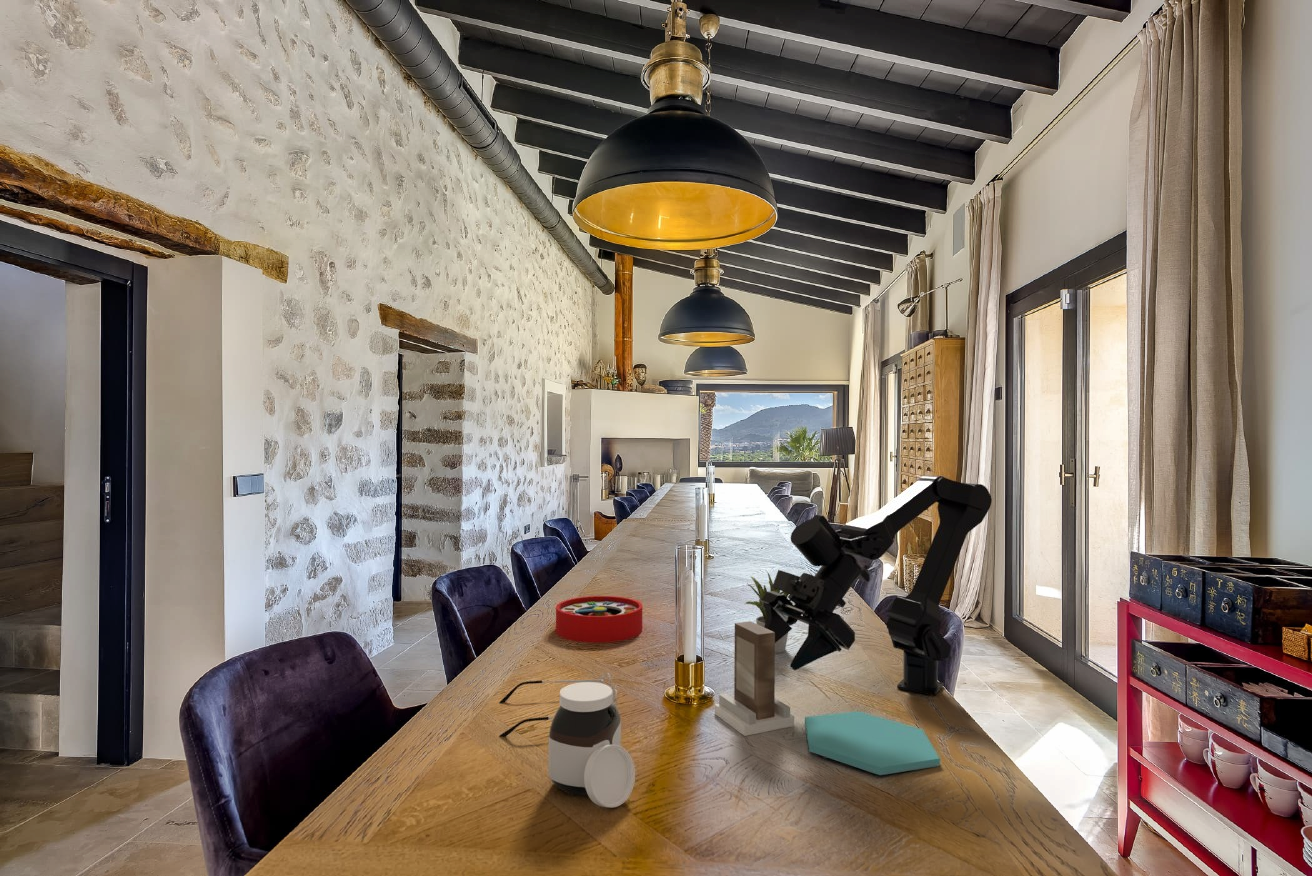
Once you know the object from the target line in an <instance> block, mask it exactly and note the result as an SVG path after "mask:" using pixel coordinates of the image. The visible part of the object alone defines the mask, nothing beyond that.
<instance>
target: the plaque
mask: <svg viewBox="0 0 1312 876" xmlns="http://www.w3.org/2000/svg"><path fill="white" fill-rule="evenodd" d="M804 727H805V733H806V738H807V739H806V740H807V746H808V751H809V752H810V753H813V754H816V755H818V756H822V758H823V759H827V758H828V759H830V760H834V761H836V762H840V763H842V764H845V765H848V766H852V767H855V768H856V769H857V768H858V769H861V770H863V771H866V772H869V773H872V774H875V775H878V776H885V775H889V774H898V773H902V772H908V771H916V770H922V769H923V770H924V769H928V768H935V767H939V766H941V758H940V756H939V755H938V752H937V751H936V749H935V748H934V746H933V745H932V743H931V741H930V739H929V738H928V736H927V735H926V733H925V731H924V729H923V728H921V727H919V728H918V727H915V726H911V725H908V724H906V723H902V722H898V721H895V720H891V719H888V718H884V717H880V716H877V715H874V714H870V713H868V712H863V711H859V710H856V711H854V710H853V711H846V712H837V713H830V714H829V713H828V714H819V715H812V716H804Z"/></svg>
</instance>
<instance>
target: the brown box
mask: <svg viewBox="0 0 1312 876" xmlns="http://www.w3.org/2000/svg"><path fill="white" fill-rule="evenodd" d="M733 657H734V658H733V659H734V661H733V662H734V665H733V666H734V667H733V669H734V673H733V674H734V675H733V676H734V677H733V678H734V680H733V681H734V683H733V684H734V685H733V693H734V694H733V695H734V698H733V699H735V700H736V701H738V702H739V703H741V704H742V705H744V706H745V707H747V708H748V709H750V710H751V711H753V712H754V713H756V719H757V720H761V719H766V718H771V717H774V710H775V687H776V686H775V682H776V681H775V680H776V678H775V677H776V676H775V672H776V670H775V669H776V667H775V663H776V662H775V660H776V659H775V658H776V653H775V632H773V631H771V630H769V629H766V628H764V627H762V626H760V625H758V624H757V623H755V622H753V621H750V620H749V621H742V622H741V621H740V622H734V656H733Z"/></svg>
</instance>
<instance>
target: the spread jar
mask: <svg viewBox="0 0 1312 876" xmlns="http://www.w3.org/2000/svg"><path fill="white" fill-rule="evenodd" d="M612 697H613V688H612V689H611V688H610V685H607V684H606V683H604V684H603V683H601V682H573V683H572V684H568V685H566V686H563V687H562V688H561V689H560V691H559V707H558V708H557V711H556V712H555V714H554V715H553V717H552V718H553V719H552V722H551V725H550V728H549V734H548V762H547V763H548V774H549V779H550V781H551V782H552V783H553V785H554V786H556V787H558V788H559V789H560V790H562V791H564V792H565V793H568V794H570V795H574V796H575V795H576V796H588V798H589V799H590V800H591V802H593V803H594V804H596V806H599V807H602V808H611V809H612V808H617V807H620V806H622V804H624V803H625V802H626V801H628V799H629V797H630V796H631V794H632V791H633V789H634V785H635V780H636V769H635V768H636V767H635V764H634V761H633V758H632V756H631V754H630V753H629V752H628V750H627V749H625V748H624V747H623V746H622V720H621V714H620V711H619V709H618V707H617V708H616V706H615V704H613V703H612Z"/></svg>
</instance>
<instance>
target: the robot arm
mask: <svg viewBox="0 0 1312 876" xmlns="http://www.w3.org/2000/svg"><path fill="white" fill-rule="evenodd" d="M992 499H993V498H992V496H991V493H990V492H989V489H988V488H987V487H986V486H985V485H984V484H981V483H971V482H970V483H968V482H967V483H966V482H960V481H956V480H952V479H951V478H947V477H946V476H945V477H944V476H943V475H942V476H941V475H929V474H926V475H925V474H924V475H922V476H920V477H918V478H917V480H916V482H915V483H913V484H912V485H911V486H909V487H908V488H907V489H905V490H903V492H901V493H900V494H899V495H898V496H896V497H895V498H893V499H892V500H890V502H888V503H886V505H884V506H882V507H881V508H880V509H879V510H877V511H875V512H873V513H871V514H867V515H864V516H863V515H862V516H860V517H857V518H855V519H853V520H850V521H849V522H847V523H845V524H843V526H842V527H841V528H840V529H836V530H835V529H834V527H833V526H832V525H831V524H830V523H829V520H828V519H827V518H826V517H825V516H824V515H822V514H814V515H813V517H812V518H810V519H808V520H805V521H803V522H802V523H801V524H799V525H796V527H794V529H793V530H792V533H791V534H790V541H791V543H792V544H793V546H794V547H795V548H796V549H797V550H798V551H799V553H801V554H802V556H803V557H804V558H805V559H806V560H807V561H808V562H809V563H810V565H812V566H813V567H819V568H818V570H817V572H816V573H815V574H814V575H813V574H810V573H806V572H802V574H801V575H800V576H799V575H796V574H793V573H790V572H787V571H783V570H780V569H778V570H777V573H776V575H775V578H774V580H773V586H772V588H773V589H776V590H778V589H779V590H780V592H785V593H788V594H789V595H788V597H786V596H785V595H783V594H784V593H783V594H780V593H777V592H775V591H769V590H767V592H766V594H765V595H764V596H763V598H762V599H761V602H762V603H763V608H764V609H765V612H766V622H765V626H764V628H766V629H769V630H771V631H773V632H775V643H776V642H777V641H778V640H780V639H781V638H782V637H783V636H784V635H786V634H787V633H788V634H789V632H790V631H792V630H793V628H792V627H791V626H792V625H795V624H796V623H797V622H798V621H799V622H802V623H804V624H806V625H807V626H808V627H807V628H808V629H807V636H806V637H805V640H804V641H803V643H802V644H801V646H800V648H799V649H798V650H797V652H796V654H795V655H794V657H793V659H792V660H791V663H790V665H789V666H790V669H792V670H793V671H797V670H799V669H801V668H803V667H804V666H807V665H808V664H810V663H813V662H815V661H816V660H818V659H820V658H823V657H826V656H827V655H830V654H833V653H834V652H841V651H842V648H843V649H845V650H847V651H849V650H850V648H851V647H852V646H853V645H854V643H855V641H856V632H855V631H854V630H853V629H852V627H851V626H850V625H849V624H848V623H847V622H846V621H845V619H843V617H842V616H841V615H840V614H838V613H836V612H834V611H835V610H836V608H837V607H838V608H843V609H844V607H845V605H846V604H847V602H846V601H845V600H844V597H846V594H848V591H849V590H850V589H851V587H852V586H853V585H854V583H855V582H856V581H857V580H859V581H863V582H865V583H866V582H867V583H868V582H870V580H871V579H870V573H869V570H868V569H869V567H868V565H867V564H864V563H860V562H859V561H858V560H857V558H856V557H858V558H861V559H866V560H871V561H876V560H878V559H880V558H882V557H883V556H884V555H885V553H886V552H888V550H890V548H891V547H892V546H893V545H894V542H895V539H896V535H897V534H898V533H899V532H900V530H902V529H904V528H905V527H906V526H907V525H908V524H910V523H911V522H913V521H914V520H915V519H916V518H918V517H919V516H920V515H921V514H923V513H924V512H926V511H927V510H928V509H929V508H931V506H933V505H935V503H938V504H937V513H938V519H939V524H938V526H937V530H936V532H935V534H934V536H933V539H932V541H931V543H930V546H929V548H928V551H927V553H926V556H925V558H924V561H923V563H922V565H921V567H920V571H919V572H918V575H917V577H916V579H915V583H914V585H913V587H912V590H911V591H910V593H909V594H907V595H906V596H905V597H901V596H896V597H895V598H894V599H893V602H892V605H891V608H890V610H889V612H888V613H887V614H886V617H887V618H888V619H887V622H886V629H887V631H888V632H887V633H888V634H889V637H890V639H891V643H892V645H893V648H894V649H898V650H901V651H903V663H902V664H903V669H902V670H903V675H902V676H903V679H902V680H900V681H899V682H898V684H897V685H896V687H897V689H900V690H905V691H909V692H913V693H919V694H922V695H923V694H924V695H928V696H933V697H934V696H936V695H938V693H939V692H940V690H941V689H942V688H943V687H944V683H943V682H942V681H938V677H939V675H938V672H939V671H938V666H939V665H938V664H939V663H938V661H939V662H944V659H948V658H949V656H950V652H951V648H952V646H951V644H950V643H949V642H948V641H947V640H946V639H945V637H944V636H943V635H942V633H940V631H941V627H942V624H943V622H942V615H941V609H940V602H941V600H942V599H943V596H944V593H945V591H946V588H947V585H948V583H949V580H950V578H951V576H952V573H953V570H954V568H955V566H956V563H957V561H958V558H959V555H960V553H961V550H962V549H963V545H964V544H965V541H966V539H967V535H968V534H969V533H970V532H971V531H972V530H974V529H975V528H976V527H977V526H978V525H980V524H981V523H982V522H983V521H984V519H985V518H986V516H987V514H988V512H989V511H990V509H991V506H992V501H993V500H992ZM789 599H790V600H791V601H789ZM791 602H792V603H793V604H792V603H791ZM794 603H795V604H794Z"/></svg>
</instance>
